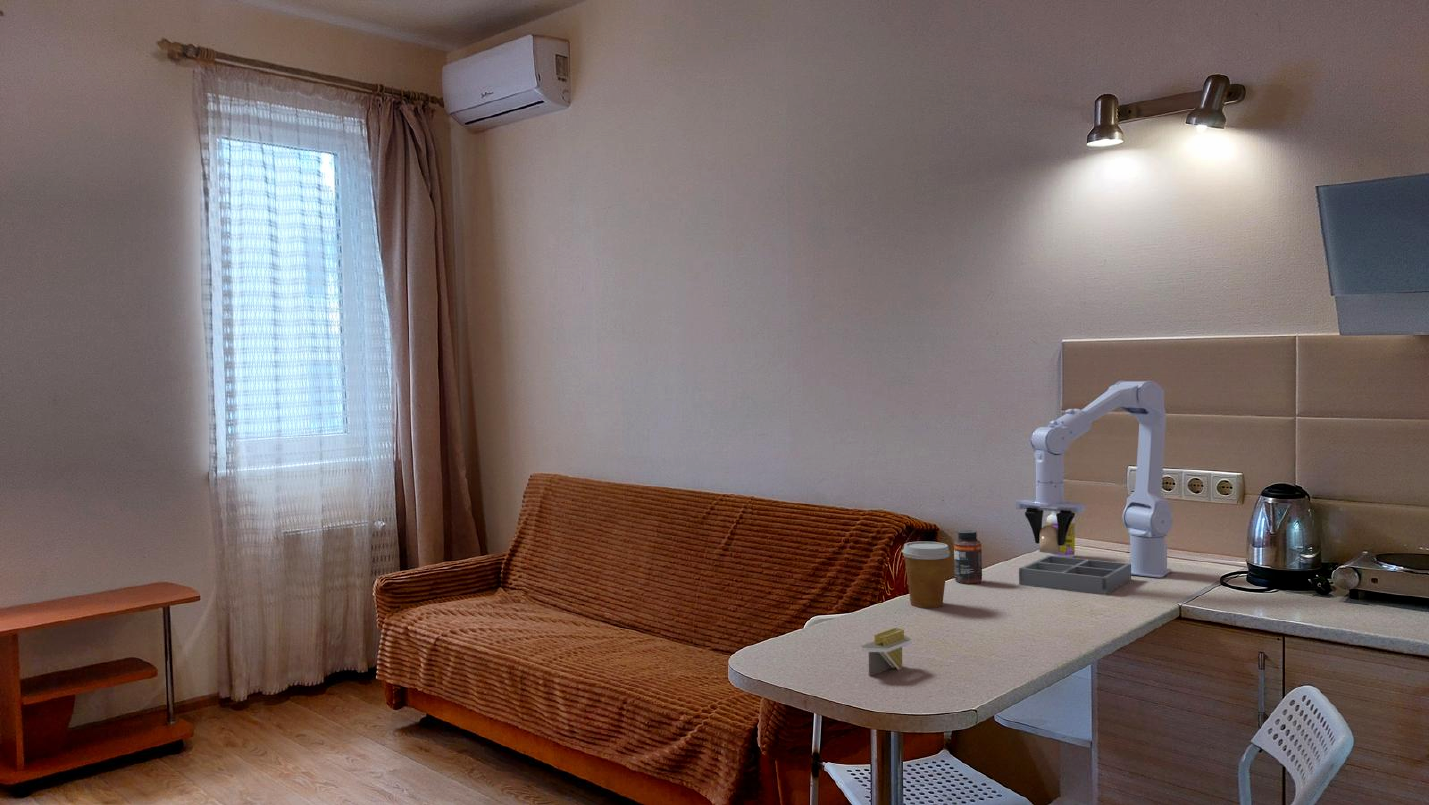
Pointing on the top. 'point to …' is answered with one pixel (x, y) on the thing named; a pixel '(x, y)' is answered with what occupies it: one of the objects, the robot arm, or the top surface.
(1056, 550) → the beige rounded peg
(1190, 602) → the top surface
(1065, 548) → the supplement bottle
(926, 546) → the disposable coffee cup
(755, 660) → the top surface
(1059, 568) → the grey compartment tray
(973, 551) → the supplement bottle
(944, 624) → the top surface
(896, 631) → the platform
